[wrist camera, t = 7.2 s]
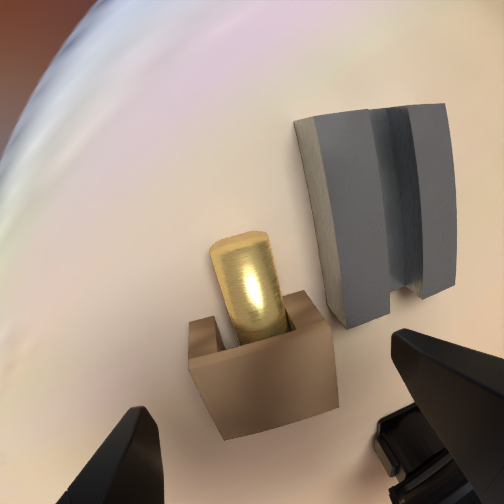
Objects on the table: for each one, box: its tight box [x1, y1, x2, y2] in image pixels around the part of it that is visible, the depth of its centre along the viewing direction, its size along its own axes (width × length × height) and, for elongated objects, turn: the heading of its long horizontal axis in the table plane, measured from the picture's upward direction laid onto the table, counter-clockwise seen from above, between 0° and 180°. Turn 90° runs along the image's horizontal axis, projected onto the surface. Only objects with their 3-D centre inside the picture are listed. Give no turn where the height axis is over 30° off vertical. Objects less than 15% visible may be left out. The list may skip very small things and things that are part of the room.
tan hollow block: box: [188, 290, 339, 441], centre depth 17 cm, size 7×6×4 cm
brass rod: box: [209, 231, 290, 346], centre depth 18 cm, size 11×3×3 cm, turn 14°
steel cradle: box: [294, 103, 457, 330], centre depth 16 cm, size 8×11×3 cm
